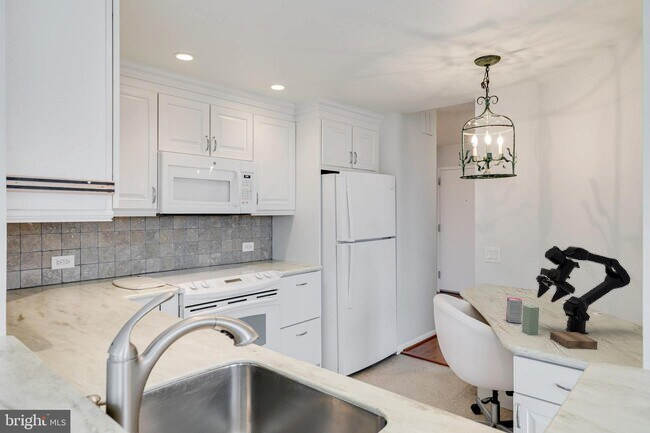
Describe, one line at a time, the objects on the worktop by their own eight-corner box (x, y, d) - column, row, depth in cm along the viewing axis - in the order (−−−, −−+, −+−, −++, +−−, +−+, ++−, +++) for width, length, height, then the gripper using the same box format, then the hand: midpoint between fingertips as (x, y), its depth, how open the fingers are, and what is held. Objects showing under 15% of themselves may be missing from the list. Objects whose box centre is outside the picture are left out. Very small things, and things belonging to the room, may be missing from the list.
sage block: (531, 331, 182) (532, 305, 182) (538, 334, 178) (539, 307, 178) (522, 331, 181) (523, 305, 181) (528, 335, 177) (529, 307, 177)
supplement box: (521, 324, 194) (522, 300, 194) (508, 323, 195) (509, 299, 195) (518, 320, 200) (519, 297, 200) (505, 320, 201) (506, 297, 201)
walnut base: (578, 339, 173) (578, 332, 172) (597, 349, 161) (597, 341, 160) (550, 338, 173) (550, 331, 173) (566, 348, 161) (567, 340, 161)
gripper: (536, 258, 190) (518, 285, 189) (565, 263, 172) (545, 294, 171) (554, 271, 192) (536, 298, 191) (584, 278, 173) (564, 308, 172)
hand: (544, 299), depth 181 cm, fingers open, 9 cm apart
